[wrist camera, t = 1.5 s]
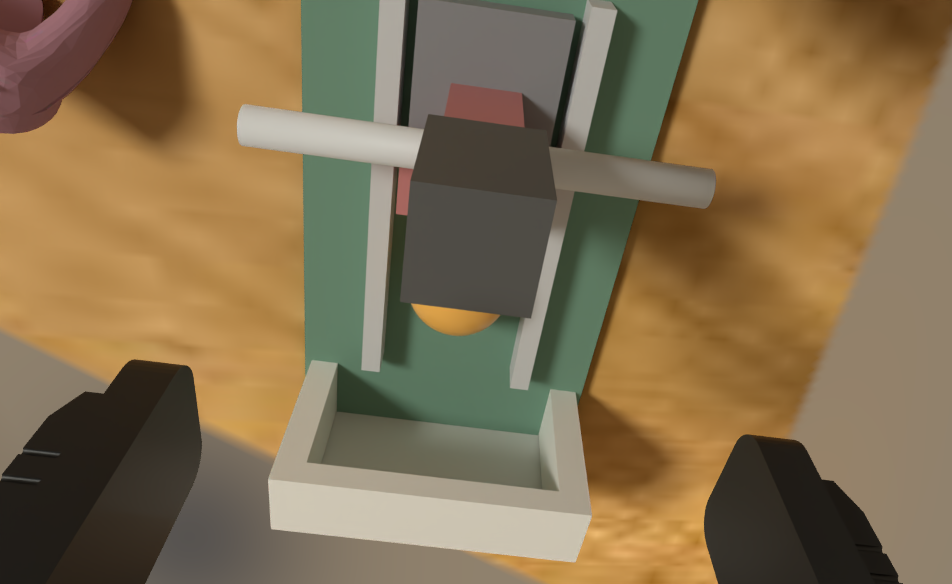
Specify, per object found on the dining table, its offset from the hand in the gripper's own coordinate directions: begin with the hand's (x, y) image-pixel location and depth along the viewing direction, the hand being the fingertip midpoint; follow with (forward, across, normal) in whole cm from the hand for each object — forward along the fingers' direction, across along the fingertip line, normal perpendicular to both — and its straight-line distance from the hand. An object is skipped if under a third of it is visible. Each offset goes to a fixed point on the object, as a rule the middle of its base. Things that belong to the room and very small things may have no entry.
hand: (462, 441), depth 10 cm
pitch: (+17, 0, +6) cm, 19 cm away
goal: (+18, 0, +15) cm, 23 cm away
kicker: (+17, 0, 0) cm, 17 cm away
